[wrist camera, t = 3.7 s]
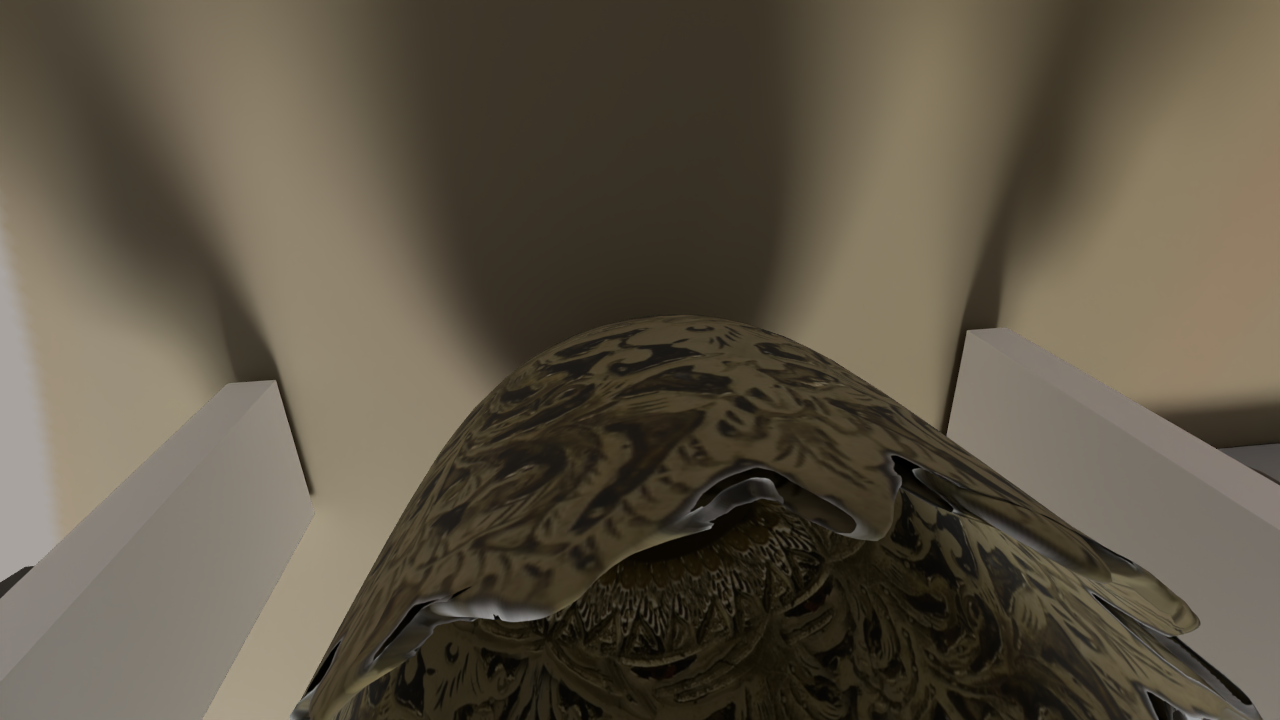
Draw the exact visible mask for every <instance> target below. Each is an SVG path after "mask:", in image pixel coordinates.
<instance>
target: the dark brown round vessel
mask: <svg viewBox="0 0 1280 720" xmlns="http://www.w3.org/2000/svg"><path fill="white" fill-rule="evenodd" d="M1200 625H1201V622H1200V620H1199V618H1198V616H1197V615H1196V614H1195V613H1194V612H1193V611H1192V610H1191V609H1190V607H1189V606H1188V605H1187V603H1186V602H1185V601H1184V600H1182V599H1181V598H1180V597H1179V596H1177V595H1176V594H1175V593H1174V592H1172V591H1171V590H1170V589H1169V588H1168V587H1167V586H1166V585H1164V584H1163V583H1162V582H1161V581H1160V580H1158V579H1157V578H1156V577H1155V576H1154V575H1152V574H1151V573H1150V572H1149V571H1147V570H1146V569H1144V568H1142V567H1141V566H1139V565H1138V564H1136V563H1134V562H1133V561H1131V560H1129V559H1127V558H1125V557H1123V556H1121V555H1119V554H1117V553H1115V552H1113V551H1112V550H1110V549H1108V548H1106V547H1104V546H1103V545H1102V544H1100V543H1098V542H1096V541H1095V540H1093V539H1092V538H1090V537H1088V536H1087V535H1085V534H1084V533H1082V532H1081V531H1079V530H1077V529H1076V528H1074V527H1072V526H1071V525H1070V524H1068V523H1067V522H1065V521H1064V520H1063V519H1061V518H1060V517H1058V516H1057V515H1056V514H1054V513H1053V512H1051V511H1050V510H1049V509H1047V508H1046V507H1045V506H1043V505H1042V504H1040V503H1039V502H1038V501H1036V500H1035V499H1033V498H1032V497H1031V496H1029V495H1028V494H1027V493H1025V492H1024V491H1022V490H1021V489H1020V488H1018V487H1017V486H1015V485H1014V484H1013V483H1011V482H1010V481H1008V480H1007V479H1006V478H1004V477H1003V476H1001V475H1000V474H999V473H997V472H996V471H994V470H993V469H992V468H990V467H989V466H988V465H986V464H985V463H983V462H982V461H981V460H979V459H978V458H976V457H975V456H974V455H972V454H971V453H969V452H968V451H966V450H965V449H964V448H962V447H961V446H959V445H958V444H957V443H955V442H954V441H952V440H951V439H949V438H948V437H947V436H945V435H944V434H942V433H941V432H940V431H938V430H937V429H935V428H934V427H932V426H931V425H930V424H928V423H927V422H925V421H924V420H922V419H921V418H919V417H918V416H917V415H915V414H914V413H912V412H911V411H909V410H908V409H906V408H905V407H904V406H902V405H901V404H899V403H898V402H896V401H895V400H893V399H892V398H890V397H889V396H888V395H886V394H885V393H883V392H882V391H880V390H878V389H877V388H875V387H874V386H872V385H871V384H869V383H867V382H866V381H864V380H863V379H861V378H859V377H858V376H856V375H855V374H853V373H852V372H850V371H848V370H847V369H845V368H844V367H842V366H840V365H839V364H837V363H836V362H834V361H833V360H831V359H829V358H827V357H825V356H823V355H821V354H819V353H817V352H816V351H814V350H812V349H810V348H808V347H806V346H803V345H801V344H799V343H797V342H795V341H793V340H791V339H789V338H786V337H784V336H781V335H778V334H775V333H772V332H769V331H766V330H763V329H760V328H757V327H754V326H751V325H748V324H745V323H741V322H736V321H731V320H727V319H722V318H717V317H707V316H696V315H659V316H651V317H643V318H635V319H629V320H625V321H620V322H616V323H612V324H607V325H603V326H601V327H598V328H595V329H592V330H589V331H586V332H583V333H580V334H577V335H575V336H573V337H571V338H569V339H567V340H565V341H562V342H560V343H558V344H556V345H554V346H552V347H550V348H548V349H547V350H545V351H543V352H542V353H540V354H538V355H537V356H535V357H534V358H532V359H530V360H529V361H527V362H526V363H525V364H523V365H522V366H521V367H519V368H518V369H517V370H515V371H514V372H513V373H511V374H510V375H509V376H508V377H506V378H505V379H504V380H503V381H502V382H501V383H500V384H499V385H498V386H497V387H496V388H495V389H494V390H493V391H492V392H491V393H490V394H489V395H488V396H487V397H486V398H485V399H484V400H482V401H481V402H480V403H479V404H478V405H477V406H476V407H475V408H474V409H473V411H472V412H471V413H470V414H469V416H468V417H467V418H466V419H465V421H464V422H463V423H462V424H461V425H460V427H459V428H458V429H457V430H456V432H455V433H454V434H453V436H452V437H451V438H450V440H449V441H448V442H447V444H446V445H445V446H444V448H443V449H442V451H441V452H440V454H439V455H438V457H437V458H436V460H435V462H434V463H433V465H432V466H431V468H430V470H429V471H428V473H427V474H426V476H425V478H424V479H423V481H422V483H421V484H420V486H419V487H418V489H417V491H416V492H415V494H414V495H413V497H412V499H411V500H410V502H409V504H408V505H407V507H406V509H405V510H404V512H403V514H402V516H401V517H400V519H399V521H398V523H397V524H396V526H395V528H394V530H393V531H392V533H391V535H390V537H389V538H388V540H387V542H386V544H385V546H384V547H383V549H382V551H381V553H380V555H379V556H378V558H377V560H376V562H375V563H374V565H373V567H372V569H371V571H370V572H369V574H368V576H367V578H366V580H365V582H364V583H363V585H362V587H361V589H360V591H359V592H358V594H357V596H356V598H355V600H354V602H353V603H352V605H351V607H350V609H349V611H348V613H347V614H346V616H345V618H344V620H343V622H342V624H341V626H340V627H339V629H338V631H337V633H336V635H335V637H334V639H333V640H332V642H331V644H330V646H329V648H328V650H327V652H326V653H325V655H324V657H323V659H322V661H321V663H320V665H319V667H318V668H317V670H316V672H315V674H314V676H313V678H312V680H311V682H310V684H309V685H308V687H307V689H306V691H305V693H304V695H303V697H302V698H301V700H300V702H298V704H297V705H296V707H295V709H294V710H293V712H292V713H291V715H290V720H1188V719H1187V717H1186V715H1187V716H1189V717H1192V718H1193V717H1194V718H1203V720H1263V719H1262V717H1261V715H1260V714H1259V712H1258V711H1257V709H1256V707H1255V706H1254V704H1253V703H1252V701H1251V700H1250V698H1249V697H1248V696H1247V695H1246V694H1245V693H1244V692H1243V691H1242V690H1241V689H1240V688H1239V687H1238V686H1236V685H1235V684H1234V683H1233V682H1232V681H1231V680H1230V679H1228V678H1227V677H1226V676H1225V675H1224V674H1222V673H1221V672H1220V671H1219V670H1217V669H1216V668H1215V667H1214V666H1212V665H1211V664H1210V663H1209V662H1207V661H1206V660H1205V659H1204V658H1202V657H1201V656H1200V655H1199V654H1198V653H1196V652H1195V651H1193V650H1192V649H1191V648H1190V647H1189V646H1187V645H1186V644H1185V643H1184V642H1183V641H1181V640H1180V639H1179V638H1178V637H1177V636H1178V635H1183V634H1186V633H1189V632H1192V631H1194V630H1196V629H1197V628H1199V626H1200ZM1185 714H1186V715H1185Z"/></svg>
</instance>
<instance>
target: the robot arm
mask: <svg viewBox="0 0 1280 720" xmlns="http://www.w3.org/2000/svg"><path fill="white" fill-rule="evenodd" d="M947 437H948V438H949V439H951V440H952V441H954V442H955V443H957V444H958V445H959V446H961V447H962V448H964V449H965V450H966V451H968V452H969V453H971V454H972V455H974V456H975V457H976V458H978V459H979V460H981V461H982V462H983V463H985V464H986V465H988V466H989V467H990V468H992V469H993V470H994V471H996V472H997V473H999V474H1000V475H1001V476H1003V477H1004V478H1006V479H1007V480H1008V481H1010V482H1011V483H1013V484H1014V485H1015V486H1017V487H1018V488H1020V489H1021V490H1022V491H1024V492H1025V493H1027V494H1028V495H1029V496H1031V497H1032V498H1033V499H1035V500H1036V501H1038V502H1039V503H1040V504H1042V505H1043V506H1045V507H1046V508H1047V509H1049V510H1050V511H1051V512H1053V513H1054V514H1056V515H1057V516H1058V517H1060V518H1061V519H1063V520H1064V521H1065V522H1067V523H1068V524H1070V525H1071V526H1072V527H1074V528H1076V529H1077V530H1079V531H1081V532H1082V533H1084V534H1085V535H1087V536H1088V537H1090V538H1092V539H1093V540H1095V541H1096V542H1098V543H1100V544H1102V545H1103V546H1104V547H1106V548H1108V549H1110V550H1112V551H1113V552H1115V553H1117V554H1119V555H1121V556H1123V557H1125V558H1127V559H1129V560H1131V561H1133V562H1134V563H1136V564H1138V565H1139V566H1141V567H1142V568H1144V569H1146V570H1147V571H1149V572H1150V573H1151V574H1152V575H1154V576H1155V577H1156V578H1157V579H1158V580H1160V581H1161V582H1162V583H1163V584H1164V585H1166V586H1167V587H1168V588H1169V589H1170V590H1171V591H1172V592H1174V593H1175V594H1176V595H1177V596H1179V597H1180V598H1181V599H1182V600H1184V601H1185V602H1186V603H1187V605H1188V606H1189V607H1190V609H1191V610H1192V611H1193V612H1194V613H1195V614H1196V615H1197V616H1198V618H1199V620H1200V622H1201V625H1200V626H1199V628H1197V629H1196V630H1194V631H1192V632H1189V633H1186V634H1183V635H1178V636H1177V637H1178V638H1179V639H1180V640H1181V641H1183V642H1184V643H1185V644H1186V645H1187V646H1189V647H1190V648H1191V649H1192V650H1193V651H1195V652H1196V653H1198V654H1199V655H1200V656H1201V657H1202V658H1204V659H1205V660H1206V661H1207V662H1209V663H1210V664H1211V665H1212V666H1214V667H1215V668H1216V669H1217V670H1219V671H1220V672H1221V673H1222V674H1224V675H1225V676H1226V677H1227V678H1228V679H1230V680H1231V681H1232V682H1233V683H1234V684H1235V685H1236V686H1238V687H1239V688H1240V689H1241V690H1242V691H1243V692H1244V693H1245V694H1246V695H1247V696H1248V697H1249V698H1250V700H1251V701H1252V703H1253V704H1254V706H1255V707H1256V709H1257V711H1258V712H1259V714H1260V715H1261V717H1262V719H1263V720H1280V482H1279V481H1277V480H1275V479H1274V478H1272V477H1270V476H1268V475H1267V474H1265V473H1263V472H1261V471H1259V470H1256V469H1254V468H1251V467H1249V466H1246V465H1243V464H1242V463H1240V462H1238V461H1237V460H1235V459H1233V458H1231V457H1230V456H1228V455H1226V454H1224V453H1223V452H1221V451H1219V450H1218V449H1216V448H1214V447H1212V446H1211V445H1209V444H1207V443H1205V442H1204V441H1202V440H1200V439H1199V438H1197V437H1195V436H1193V435H1192V434H1190V433H1188V432H1186V431H1185V430H1183V429H1181V428H1180V427H1178V426H1176V425H1174V424H1173V423H1171V422H1169V421H1167V420H1166V419H1164V418H1162V417H1160V416H1159V415H1157V414H1155V413H1154V412H1152V411H1150V410H1148V409H1147V408H1145V407H1143V406H1141V405H1140V404H1138V403H1136V402H1135V401H1133V400H1131V399H1129V398H1128V397H1126V396H1124V395H1122V394H1121V393H1119V392H1117V391H1116V390H1114V389H1112V388H1110V387H1109V386H1107V385H1105V384H1103V383H1102V382H1100V381H1098V380H1097V379H1095V378H1093V377H1091V376H1090V375H1088V374H1086V373H1084V372H1083V371H1081V370H1079V369H1078V368H1076V367H1074V366H1072V365H1071V364H1069V363H1067V362H1065V361H1064V360H1062V359H1060V358H1058V357H1057V356H1055V355H1053V354H1052V353H1050V352H1048V351H1046V350H1045V349H1043V348H1041V347H1039V346H1038V345H1036V344H1034V343H1033V342H1031V341H1029V340H1027V339H1026V338H1024V337H1022V336H1020V335H1019V334H1017V333H1015V332H1014V331H1012V330H1010V329H1008V328H1007V327H1005V328H991V329H977V330H967V334H966V339H965V345H964V350H963V355H962V360H961V365H960V370H959V375H958V380H957V385H956V390H955V395H954V400H953V405H952V410H951V415H950V420H949V425H948V430H947ZM314 515H315V512H314V509H313V505H312V502H311V498H310V495H309V492H308V488H307V485H306V481H305V478H304V475H303V471H302V468H301V464H300V461H299V457H298V454H297V451H296V447H295V444H294V440H293V437H292V434H291V430H290V427H289V423H288V420H287V417H286V413H285V410H284V406H283V403H282V399H281V396H280V393H279V389H278V386H277V382H276V380H267V381H253V382H239V383H227V384H226V385H225V386H224V387H223V388H222V389H221V390H220V391H219V392H218V393H217V394H216V395H215V396H214V397H213V398H211V399H210V400H209V401H208V402H207V403H206V404H205V405H204V406H203V407H202V408H201V409H200V410H199V411H198V412H197V413H196V414H195V415H194V416H192V417H191V418H190V419H189V420H188V421H187V422H186V423H185V424H184V425H183V426H182V427H181V428H180V429H179V430H178V431H177V432H176V433H175V434H173V435H172V436H171V437H170V438H169V439H168V440H167V441H166V442H165V443H164V444H163V445H162V446H161V447H160V448H159V449H158V450H157V451H156V452H154V453H153V454H152V455H151V456H150V457H149V458H148V459H147V460H146V461H145V462H144V463H143V464H142V465H141V466H140V467H139V468H138V469H137V470H135V471H134V472H133V473H132V474H131V475H130V476H129V477H128V478H127V479H126V480H125V481H124V482H123V483H122V484H121V485H120V486H119V487H118V488H116V489H115V490H114V491H113V492H112V493H111V494H110V495H109V496H108V497H107V498H106V499H105V500H104V501H103V502H102V503H101V504H100V505H99V506H98V507H96V508H95V509H94V510H93V511H92V512H91V513H90V514H89V515H88V516H87V517H86V518H85V519H84V520H83V521H82V522H81V523H80V524H79V525H77V526H76V527H75V528H74V529H73V530H72V531H71V532H70V533H69V534H68V535H67V536H66V537H65V538H64V539H63V540H62V541H61V542H60V543H58V544H57V545H56V546H55V547H54V548H53V549H52V550H51V551H50V552H49V553H48V554H47V555H46V556H45V557H44V558H43V559H42V560H41V561H39V562H38V564H36V565H35V566H30V567H24V568H23V569H21V570H20V571H18V572H17V573H15V574H13V575H11V576H10V577H8V578H7V579H5V580H4V581H2V582H0V720H202V719H203V717H204V715H205V713H206V711H207V710H208V708H209V706H210V704H211V702H212V700H213V699H214V697H215V695H216V693H217V691H218V689H219V688H220V686H221V684H222V682H223V680H224V679H225V677H226V675H227V673H228V671H229V669H230V668H231V666H232V664H233V662H234V660H235V658H236V657H237V655H238V653H239V651H240V649H241V648H242V646H243V644H244V642H245V640H246V638H247V637H248V635H249V633H250V631H251V629H252V628H253V626H254V624H255V622H256V620H257V618H258V617H259V615H260V613H261V611H262V609H263V607H264V606H265V604H266V602H267V600H268V598H269V597H270V595H271V593H272V591H273V589H274V587H275V586H276V584H277V582H278V580H279V578H280V576H281V575H282V573H283V571H284V569H285V567H286V566H287V564H288V562H289V560H290V558H291V556H292V555H293V553H294V551H295V549H296V547H297V545H298V544H299V542H300V540H301V538H302V536H303V535H304V533H305V531H306V529H307V527H308V525H309V524H310V522H311V520H312V518H313V516H314ZM1200 719H1201V720H1203V718H1200Z"/></svg>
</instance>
